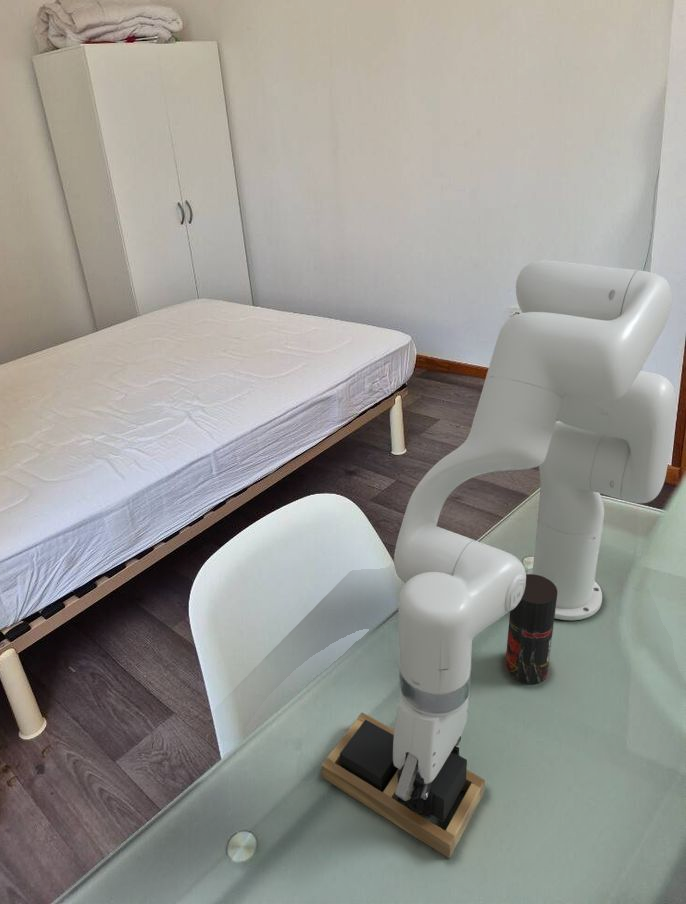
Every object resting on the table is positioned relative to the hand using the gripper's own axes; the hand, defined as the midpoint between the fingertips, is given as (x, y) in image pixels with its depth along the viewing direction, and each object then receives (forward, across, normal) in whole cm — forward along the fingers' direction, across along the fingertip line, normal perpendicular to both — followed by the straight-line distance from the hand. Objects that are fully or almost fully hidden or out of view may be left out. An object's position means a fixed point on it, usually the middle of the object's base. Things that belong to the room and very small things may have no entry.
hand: (432, 785), depth 82 cm
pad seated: (+3, 0, -8) cm, 9 cm away
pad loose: (+1, 0, 0) cm, 1 cm away
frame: (+3, 0, -4) cm, 5 cm away
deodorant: (+3, -26, +2) cm, 26 cm away
